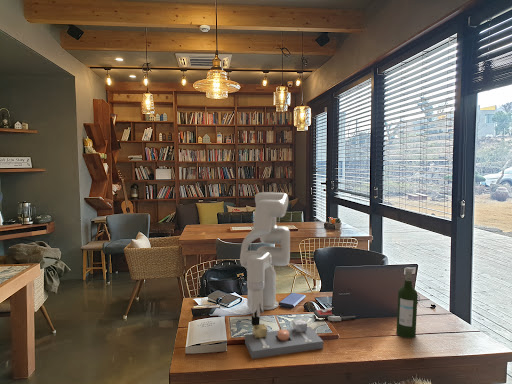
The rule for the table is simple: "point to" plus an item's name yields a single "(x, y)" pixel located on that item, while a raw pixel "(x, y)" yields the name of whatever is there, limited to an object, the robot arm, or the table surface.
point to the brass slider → (259, 331)
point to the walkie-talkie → (330, 315)
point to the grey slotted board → (282, 343)
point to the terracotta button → (283, 335)
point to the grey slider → (299, 325)
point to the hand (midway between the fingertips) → (255, 324)
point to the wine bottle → (407, 308)
